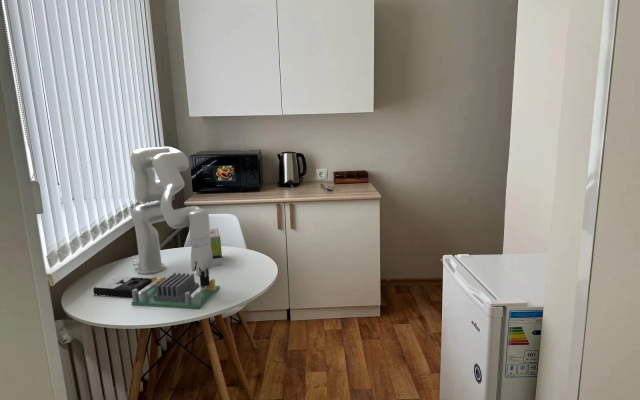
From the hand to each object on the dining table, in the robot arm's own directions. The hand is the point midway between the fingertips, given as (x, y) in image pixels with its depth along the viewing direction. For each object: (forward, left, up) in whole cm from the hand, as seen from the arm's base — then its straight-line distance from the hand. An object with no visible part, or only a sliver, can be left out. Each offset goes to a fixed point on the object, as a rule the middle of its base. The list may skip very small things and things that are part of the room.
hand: (205, 285), depth 173 cm
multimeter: (-38, +2, -5) cm, 38 cm away
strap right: (-1, -3, -1) cm, 3 cm away
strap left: (-23, -3, -1) cm, 23 cm away
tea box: (-16, +39, -5) cm, 42 cm away
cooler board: (-12, -2, -5) cm, 13 cm away
